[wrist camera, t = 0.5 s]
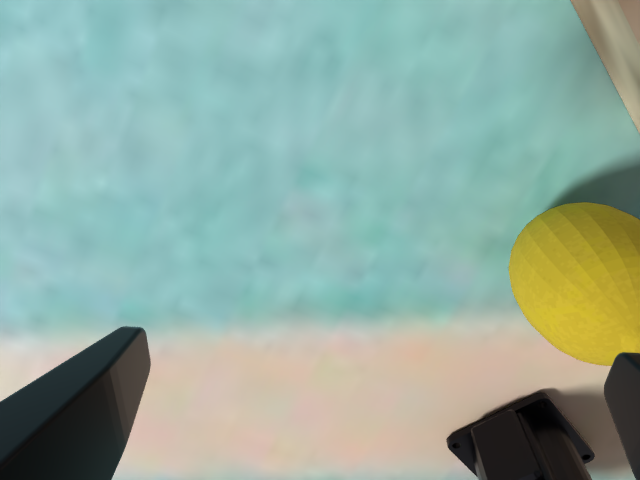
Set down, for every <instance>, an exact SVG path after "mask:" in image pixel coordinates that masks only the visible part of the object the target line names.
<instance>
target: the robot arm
mask: <svg viewBox="0 0 640 480" xmlns="http://www.w3.org/2000/svg"><path fill="white" fill-rule="evenodd" d="M150 365H151V361H150V355H149V349H148V342H147V336H146V332H145V330H144V329H143V328H141V327H127V326H124V327H120V328H118V329H117V330H115V331H114V332H112V333H110V334H109V335H107V336H106V337H104V338H102V339H101V340H99V341H97V342H96V343H94V344H93V345H91V346H89V347H88V348H86V349H85V350H83V351H81V352H80V353H78V354H77V355H75V356H73V357H72V358H70V359H68V360H67V361H65V362H64V363H62V364H60V365H59V366H57V367H56V368H54V369H52V370H51V371H49V372H48V373H46V374H44V375H43V376H41V377H39V378H38V379H36V380H35V381H33V382H31V383H30V384H28V385H27V386H25V387H23V388H22V389H20V390H19V391H17V392H15V393H14V394H12V395H10V396H9V397H7V398H6V399H4V400H2V401H1V402H0V480H111V479H112V477H113V475H114V472H115V470H116V468H117V466H118V463H119V461H120V459H121V457H122V454H123V452H124V449H125V447H126V444H127V441H128V438H129V435H130V432H131V429H132V426H133V423H134V420H135V417H136V413H137V410H138V407H139V404H140V401H141V398H142V394H143V391H144V388H145V385H146V382H147V379H148V375H149V372H150ZM604 395H605V399H606V402H607V405H608V407H609V410H610V413H611V415H612V418H613V421H614V423H615V426H616V429H617V432H618V434H619V437H620V440H621V442H622V445H623V448H624V450H625V453H626V456H627V459H628V461H629V464H630V466H631V469H632V471H633V474H634V476H635V478H636V480H640V353H631V352H622V353H619V354H618V355H617V356H616V357H615V359H614V362H613V364H612V367H611V369H610V372H609V374H608V377H607V379H606V382H605V385H604ZM447 445H448V448H449V449H450V450H451V451H452V452H453V453H454V454H455V455H456V456H457V457H458V458H459V459H460V460H461V461H462V462H463V463H464V464H465V465H466V466H467V467H468V468H469V469H470V470H471V471H472V472H473V473H474V474H475V475H476V476H477V477H478V479H479V480H592V479H591V477H590V475H589V473H588V471H587V469H586V467H585V465H584V464H585V463H588V462H590V461H592V460H593V459H594V457H595V455H594V453H593V451H592V449H591V448H590V446H589V445H588V444H587V443H586V441H585V440H584V439H583V438H582V437H581V435H580V434H579V433H578V432H577V430H576V429H575V428H574V427H573V425H572V424H571V423H570V422H569V421H568V419H567V418H566V417H565V416H564V414H563V413H562V412H561V411H560V409H559V408H558V407H557V406H556V405H555V403H554V402H553V401H552V400H551V398H550V397H549V396H548V395H547V394H545V393H538V394H535V395H533V396H531V397H529V398H527V399H524V400H522V401H520V402H518V403H516V404H514V405H512V406H510V407H508V408H506V409H504V410H502V411H500V412H498V413H496V414H494V415H491V416H489V417H487V418H485V419H483V420H481V421H479V422H477V423H475V424H473V425H471V426H469V427H467V428H465V429H463V430H460V431H458V432H456V433H454V434H452V435H450V436H449V437H448V438H447Z"/></svg>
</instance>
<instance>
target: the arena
mask: <svg viewBox="0 0 640 480" xmlns="http://www.w3.org/2000/svg"><path fill="white" fill-rule="evenodd" d="M571 2H572V4H573V6H574V8H575V10H576V12H577V14H578V16H579V18H580V20H581V22H582V24H583V26H584V27H585V29H586V31H587V33H588V35H589V37H590V39H591V41H592V43H593V45H594V47H595V49H596V51H597V53H598V54H599V56H600V58H601V60H602V62H603V64H604V66H605V68H606V70H607V72H608V74H609V76H610V78H611V80H612V81H613V83H614V85H615V87H616V89H617V91H618V93H619V95H620V97H621V99H622V101H623V103H624V105H625V106H626V108H627V110H628V112H629V114H630V116H631V118H632V120H633V122H634V124H635V126H636V128H637V130H638V132H639V133H640V0H571Z"/></svg>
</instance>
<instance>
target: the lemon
mask: <svg viewBox="0 0 640 480" xmlns="http://www.w3.org/2000/svg"><path fill="white" fill-rule="evenodd" d="M509 275H510V281H511V287H512V291H513V294H514V297H515V299H516V301H517V302H518V304H519V306H520V308H521V310H522V312H523V314H524V315H525V317H526V318H527V320H528V321H529V322H530V324H531V325H532V326H533V327H534V328H535V329H536V330H537V331H538V332H539V333H540V334H541V335H542V336H543V337H544V338H545V339H546V340H547V341H549V342H550V343H551V344H552V345H553V346H555V347H556V348H557V349H559V350H560V351H562V352H564V353H566V354H568V355H570V356H572V357H574V358H576V359H578V360H581V361H584V362H588V363H592V364H596V365H605V366H612V364H613V362H614V359H615V357H616V356H617V355H618V354H619V353H622V352H631V353H640V220H639V219H638V218H636V217H634V216H632V215H630V214H628V213H626V212H623V211H621V210H618V209H616V208H614V207H611V206H608V205H603V204H596V203H588V202H580V203H569V204H564V205H561V206H557V207H554V208H551V209H549V210H547V211H545V212H544V213H542V214H540V215H538V216H537V217H535V218H534V219H533V220H532V221H531V222H529V223H528V224H527V225H526V226H525V228H524V229H523V230H522V231H521V233H520V234H519V235H518V237H517V239H516V242H515V244H514V246H513V248H512V250H511V256H510V263H509Z"/></svg>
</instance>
